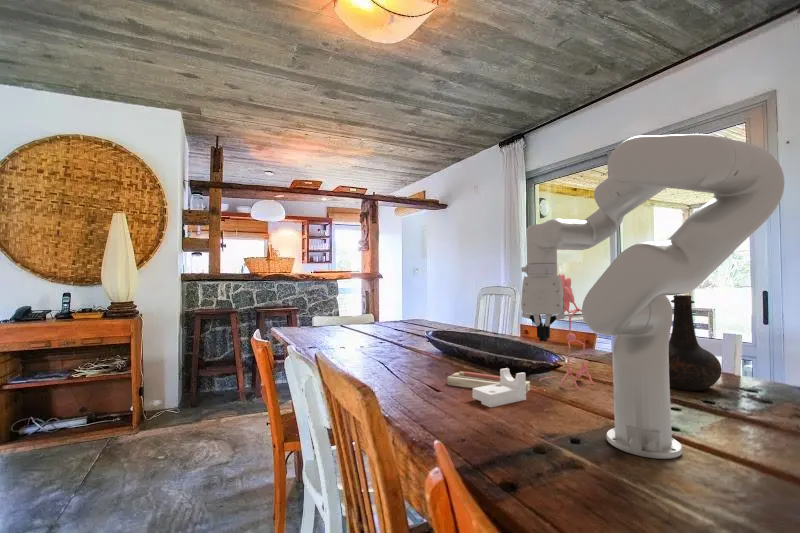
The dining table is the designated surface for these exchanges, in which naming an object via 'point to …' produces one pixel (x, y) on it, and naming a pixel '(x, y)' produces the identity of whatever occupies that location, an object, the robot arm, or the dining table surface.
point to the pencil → (480, 375)
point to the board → (474, 381)
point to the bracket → (502, 390)
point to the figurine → (570, 337)
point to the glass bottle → (689, 352)
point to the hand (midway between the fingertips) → (543, 340)
